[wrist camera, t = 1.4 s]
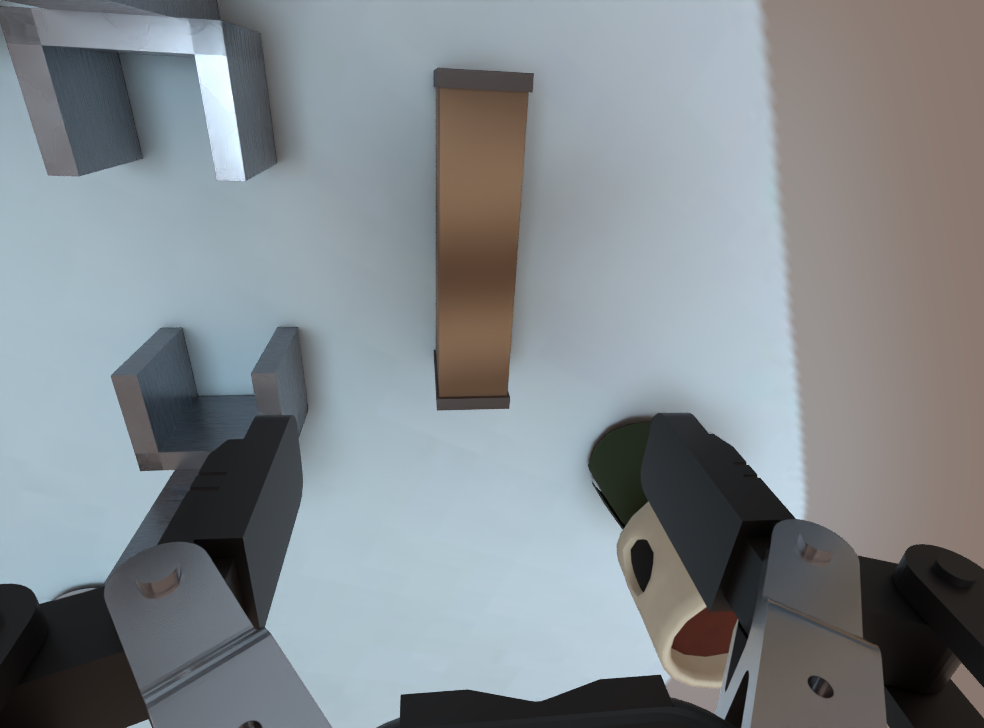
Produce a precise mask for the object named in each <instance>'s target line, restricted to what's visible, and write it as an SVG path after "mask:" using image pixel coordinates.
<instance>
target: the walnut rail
mask: <svg viewBox="0 0 984 728" xmlns="http://www.w3.org/2000/svg"><path fill="white" fill-rule="evenodd" d="M533 76H534V73H517V72H500V71H483V70H465V69H448V68H437V69H435V70H434V87H436V350H434V367H435V384H436V400H437V410H472V409H509V404H510V396H509V393H508V378H509V364H510V350H511V335H512V321H513V307H514V293H515V278H516V264H517V250H518V236H519V222H520V207H521V193H522V179H523V165H524V150H525V136H526V122H527V108H528V93H529V92H532V90H533Z"/></svg>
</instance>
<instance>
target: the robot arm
mask: <svg viewBox="0 0 984 728" xmlns="http://www.w3.org/2000/svg"><path fill="white" fill-rule="evenodd" d="M198 473H199V475H198V476H196V478H195V479H194V481H193V483H192V485H191V486H190V491H188V492H187V493H186V495H185V497H184V499H183V500H182V502H181V504H180V505H179V507H178V509H177V511H176V512H175V514H174V516H173V518H172V519H171V521H170V523H169V525H168V526H167V528H166V530H165V532H164V533H163V535H162V537H161V539H160V540H159V542H158V544H157V546H153V547H151V548H148V549H145V550H143V551H141V552H139V553H137V554H136V555H134V556H132V557H131V558H129V559H128V560H126V561H125V562H124V563H123V564H121V565H120V566H119V567H118V568H117V569H116V570H115V571H114V573H113V574H112V575H111V576H110V578H109V580H108V581H107V583H106V585H105V586H102V587H99V588H96V589H93V590H90V591H86V592H82V593H79V594H75V595H71V596H68V597H64V598H60V599H57V600H53V601H49V602H46V603H42V604H39V603H38V600H37V598H36V596H35V594H34V593H33V591H32V590H31V589H29V588H27V587H25V586H22V585H18V584H0V728H126V727H128V726H131V725H134V724H137V723H139V722H142V721H145V720H147V719H149V721H150V724H151V726H152V728H332V726H331V725H330V723H329V722H328V720H327V719H326V717H325V716H324V714H323V713H322V711H321V709H320V708H319V706H318V705H317V703H316V702H315V700H314V699H313V697H312V696H311V694H310V693H309V691H308V690H307V688H306V686H305V685H304V683H303V682H302V680H301V679H300V677H299V676H298V674H297V673H296V671H295V670H294V668H293V666H292V665H291V663H290V662H289V660H288V659H287V657H286V656H285V654H284V653H283V651H282V650H281V648H280V647H279V645H278V643H277V642H276V640H275V639H274V637H273V636H272V635H271V633H270V632H269V631H268V630H267V629H266V628H265V625H266V621H267V618H268V614H269V611H270V607H271V604H272V600H273V597H274V593H275V590H276V586H277V583H278V579H279V576H280V572H281V569H282V565H283V562H284V558H285V555H286V551H287V548H288V544H289V541H290V537H291V534H292V531H293V527H294V524H295V520H296V517H297V513H298V510H299V506H300V502H301V497H302V487H303V475H302V465H301V456H300V448H299V439H298V430H297V423H296V419H295V416H294V415H257V416H255V417H254V419H253V421H252V423H251V425H250V427H249V429H248V431H247V433H246V435H245V437H244V439H228V440H227V441H225V442H224V443H223V444H222V445H220V446H219V447H218V448H216V449H215V450H214V451H213V452H211V453H210V454H209V455H208V457H207V458H206V460H205V462H204V464H203V465H202V467H201V469H200V471H199V472H198ZM641 484H642V488H643V491H644V494H645V496H646V498H647V500H648V501H649V503H650V505H651V507H652V509H653V510H654V512H655V514H656V516H657V518H658V519H659V521H660V523H661V525H662V527H663V529H664V530H665V532H666V534H667V536H668V538H669V539H670V541H671V543H672V545H673V547H674V548H675V550H676V552H677V554H678V556H679V557H680V559H681V561H682V563H683V565H684V567H685V568H686V570H687V572H688V574H689V576H690V577H691V579H692V581H693V583H694V585H695V586H696V588H697V590H698V592H699V594H700V596H701V597H702V599H703V601H704V603H705V605H706V606H707V608H708V610H709V612H722V611H733V612H734V613H735V615H736V617H737V618H738V619H737V622H736V625H735V627H734V630H733V634H732V639H731V643H730V648H729V653H728V658H727V663H726V668H725V672H724V677H723V682H722V687H721V692H720V697H719V701H718V706H717V710H716V713H715V714H713V713H711V712H710V711H708V710H706V709H703V708H701V707H699V706H696V705H694V704H692V703H689V702H685V701H682V700H679V699H676V698H671V697H670V696H669V694H668V691H667V689H666V686H665V684H664V682H663V679H662V677H661V675H651V676H638V677H625V678H612V679H600V680H597V681H594V682H592V683H589V684H586V685H584V686H581V687H578V688H576V689H573V690H571V691H568V692H565V693H563V694H560V695H557V696H555V697H552V698H549V699H547V700H544V701H538V702H534V701H527V700H522V699H516V698H511V697H506V696H500V695H495V694H489V693H484V692H478V691H473V690H455V691H442V692H429V693H416V694H403V695H401V701H400V718H397V719H395V720H392V721H390V722H387V723H385V724H383V725H381V726H379V727H377V728H887V724H888V726H889V727H890V728H984V718H983V717H982V716H981V715H980V714H979V712H978V711H977V710H976V709H975V708H974V706H973V705H972V704H971V703H970V702H969V700H968V699H967V698H966V697H965V696H964V695H963V693H962V692H961V691H960V690H959V689H958V687H957V686H956V685H955V684H954V683H953V681H952V680H951V679H950V678H951V677H952V675H953V674H954V672H955V671H956V670H957V668H958V667H959V665H960V664H961V662H962V663H963V665H965V667H966V668H967V669H968V670H969V671H970V673H971V674H972V675H973V676H974V677H975V678H976V679H977V680H978V682H979V683H980V684H981V685H982V686H983V687H984V569H982V568H981V567H980V566H978V565H977V564H975V563H974V562H972V561H971V560H969V559H967V558H965V557H963V556H961V555H959V554H957V553H955V552H953V551H950V550H947V549H944V548H941V547H937V546H933V545H925V544H920V545H913V546H911V547H909V548H908V549H907V550H906V551H905V553H904V555H903V557H902V559H901V561H900V562H899V564H896V563H891V562H886V561H881V560H877V559H871V558H866V557H862V556H857V554H856V552H855V551H854V549H853V548H852V547H851V546H850V545H849V544H848V543H847V542H846V541H845V540H844V539H843V538H841V537H840V536H839V535H837V534H836V533H834V532H833V531H831V530H829V529H827V528H825V527H823V526H821V525H818V524H816V523H813V522H809V521H805V520H799V519H795V517H794V516H793V515H792V514H791V513H790V512H789V511H788V509H787V508H786V507H785V506H784V505H783V504H782V502H781V501H780V500H779V499H778V498H777V497H776V496H775V494H774V493H773V492H772V491H771V490H770V489H769V488H768V486H767V485H766V484H765V483H764V482H763V481H762V479H761V478H757V474H756V473H755V471H754V470H753V469H752V468H751V467H750V466H749V465H746V461H745V460H744V459H743V458H742V457H741V455H740V454H739V453H738V452H737V451H736V450H735V448H734V447H733V446H731V445H729V444H728V443H726V442H725V441H723V440H722V439H720V438H719V437H717V436H716V435H714V434H709V433H708V432H707V431H706V430H705V429H704V427H703V426H702V425H701V424H700V423H699V421H698V420H697V419H696V418H695V417H694V416H693V415H692V414H691V413H657V414H656V415H655V416H654V418H653V420H652V424H651V428H650V432H649V436H648V441H647V445H646V449H645V453H644V458H643V462H642V466H641Z"/></svg>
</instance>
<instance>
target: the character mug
mask: <svg viewBox="0 0 984 728" xmlns="http://www.w3.org/2000/svg"><path fill="white" fill-rule="evenodd" d="M651 424H652V422H644V423H635V424H630V425H627V426H625V427H622V428H619V429H616V430H614V431H611V432H609V433H608V434H607V435H606V436H605V437H604V438H603V439H602V440H601V441H600V442H599V443H598V445H597V446H596V447H595V448H594V450H593V453H592V456H591V459H590V461H589V464H588V467H589V470H590V472H591V474H592V475H593V477H594V479H595V481H596V482H597V484H598V486H599V488H600V489H601V491H602V492H601V491H600V490H599V489H598V488H597V487H595V485H594V483H593V482H592V484H593V486H594V487H595V489H596V491H597V492H598V494H599V496H600V497H601V499H602V501H603V502H604V504H605V505H606V507H607V508H608V510H609V511H610V513H611V514H612V515H613V517H614V518H615V520H616V521H617V522H618V524H619V525H620V527H621V528H622V529H623V531H622V532H621V534H620V537H619V539H618V542H617V556H618V561H619V564H620V566H621V569H622V572H623V574H624V576H625V580H626V583H627V586H628V588H629V590H630V592H631V595H632V597H633V599H634V601H635V604H636V606H637V608H638V610H639V612H640V614H641V617H642V619H643V621H644V624H645V626H646V629H647V631H648V633H649V636H650V638H651V640H652V643H653V645H654V648H655V650H656V652H657V655H658V657H659V659H660V661H661V664H662V666H663V668H664V670H665V671H666V672H667V673H668V674H669V675H670V676H671V677H672V679H675V680H677V681H680V682H682V683H684V684H686V685H689V686H692V687H704V688H721V687H722V682H723V677H724V672H725V668H726V663H727V658H728V653H729V648H730V643H731V639H732V634H733V630H734V627H735V625H736V622H737V619H738V618H737V617H736V615H735V613H734V612H733V611H722V612H709V610H708V608H707V606H706V605H705V603H704V601H703V599H702V597H701V596H700V594H699V592H698V590H697V588H696V586H695V585H694V583H693V581H692V579H691V577H690V576H689V574H688V572H687V570H686V568H685V567H684V565H683V563H682V561H681V559H680V557H679V556H678V554H677V552H676V550H675V548H674V547H673V545H672V543H671V541H670V539H669V538H668V536H667V534H666V532H665V530H664V529H663V527H662V525H661V523H660V521H659V519H658V518H657V516H656V514H655V512H654V510H653V509H652V507H651V505H650V503H649V501H648V500H647V498H646V496H645V494H644V491H643V488H642V484H641V466H642V462H643V458H644V453H645V449H646V445H647V441H648V436H649V432H650V428H651Z"/></svg>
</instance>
